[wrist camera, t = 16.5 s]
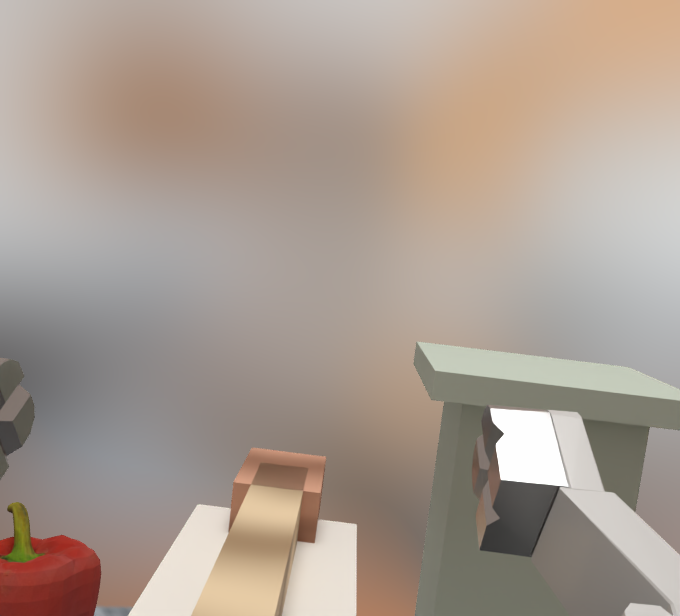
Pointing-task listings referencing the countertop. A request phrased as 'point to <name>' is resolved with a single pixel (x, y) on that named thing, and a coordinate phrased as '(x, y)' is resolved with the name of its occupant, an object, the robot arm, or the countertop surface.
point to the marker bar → (264, 533)
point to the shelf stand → (457, 456)
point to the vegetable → (46, 573)
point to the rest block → (305, 579)
